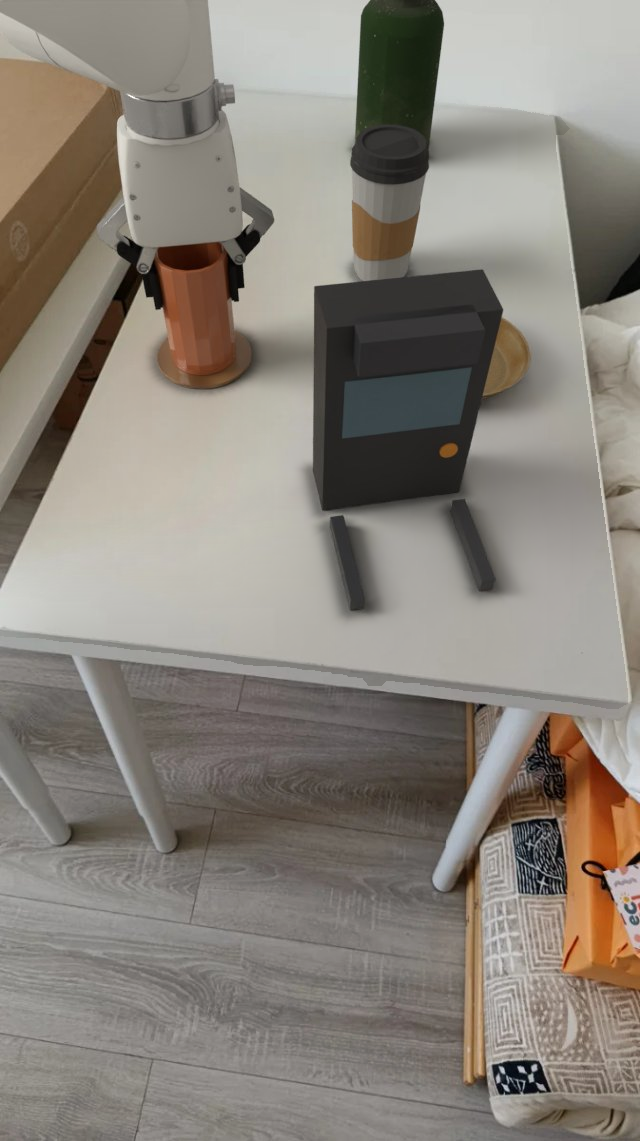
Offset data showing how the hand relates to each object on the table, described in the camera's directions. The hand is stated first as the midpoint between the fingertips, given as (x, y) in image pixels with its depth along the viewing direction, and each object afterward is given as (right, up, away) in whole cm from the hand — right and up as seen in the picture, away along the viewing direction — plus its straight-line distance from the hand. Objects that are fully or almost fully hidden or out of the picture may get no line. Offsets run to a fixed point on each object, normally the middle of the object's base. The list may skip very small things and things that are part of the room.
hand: (196, 296), depth 76 cm
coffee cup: (+19, +8, +16) cm, 26 cm away
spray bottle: (+22, +32, +32) cm, 51 cm away
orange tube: (0, -4, +6) cm, 7 cm away
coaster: (0, -4, +6) cm, 8 cm away
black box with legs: (+19, -23, -7) cm, 31 cm away
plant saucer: (+27, -6, +6) cm, 28 cm away
